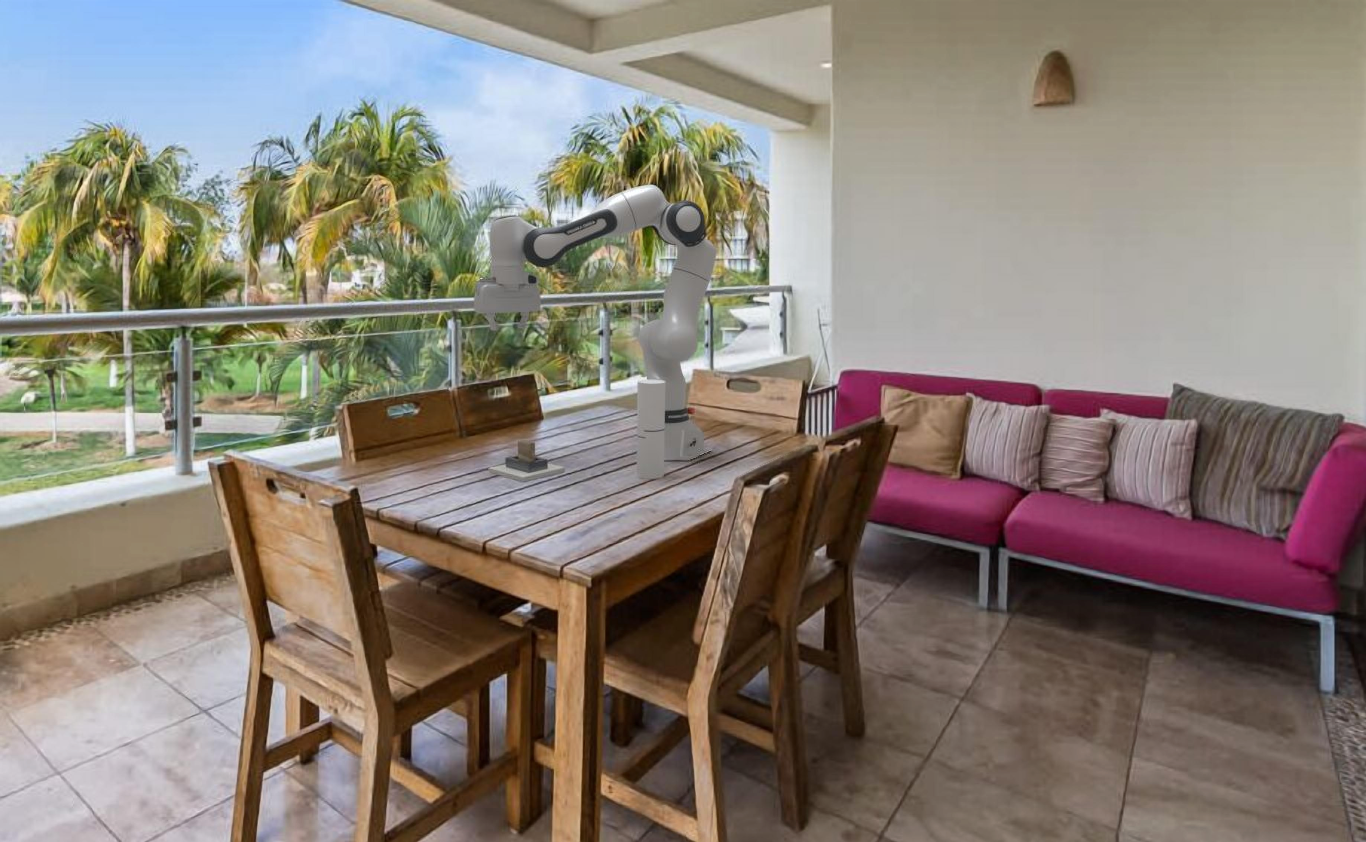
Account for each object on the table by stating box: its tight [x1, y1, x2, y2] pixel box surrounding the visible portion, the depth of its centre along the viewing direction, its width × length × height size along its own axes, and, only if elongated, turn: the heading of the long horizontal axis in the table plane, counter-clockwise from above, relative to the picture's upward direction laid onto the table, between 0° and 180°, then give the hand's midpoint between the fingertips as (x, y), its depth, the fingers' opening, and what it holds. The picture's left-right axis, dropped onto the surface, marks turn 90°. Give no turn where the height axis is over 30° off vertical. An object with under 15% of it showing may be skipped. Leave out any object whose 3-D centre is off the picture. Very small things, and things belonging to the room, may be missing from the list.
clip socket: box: [504, 454, 549, 473], centre depth 215 cm, size 6×9×2 cm
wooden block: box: [517, 439, 536, 462], centre depth 214 cm, size 2×4×7 cm, turn 50°
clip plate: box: [488, 463, 565, 483], centre depth 215 cm, size 14×14×1 cm
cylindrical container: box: [636, 379, 665, 480], centre depth 212 cm, size 7×7×25 cm
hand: (508, 329), depth 221 cm, fingers open, 8 cm apart
